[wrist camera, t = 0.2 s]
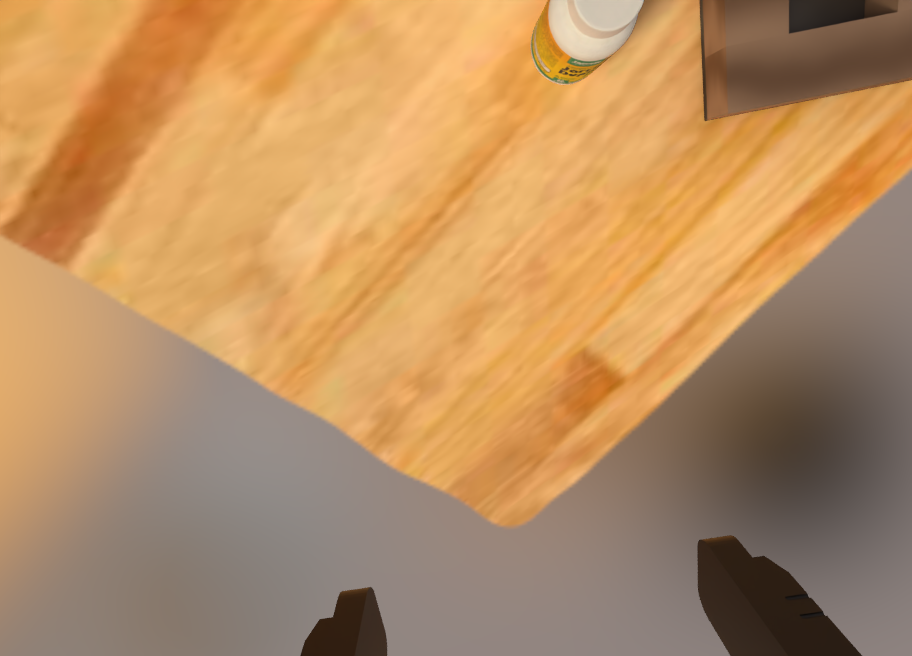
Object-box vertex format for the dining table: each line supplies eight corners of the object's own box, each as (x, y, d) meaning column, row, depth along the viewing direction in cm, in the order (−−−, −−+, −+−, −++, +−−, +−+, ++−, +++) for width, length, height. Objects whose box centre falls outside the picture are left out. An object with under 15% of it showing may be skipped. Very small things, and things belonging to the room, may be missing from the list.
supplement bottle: (588, -9, 33) (645, -91, 24) (610, 69, 34) (672, 20, 25) (518, 23, 33) (547, -45, 24) (542, 98, 35) (579, 61, 26)
